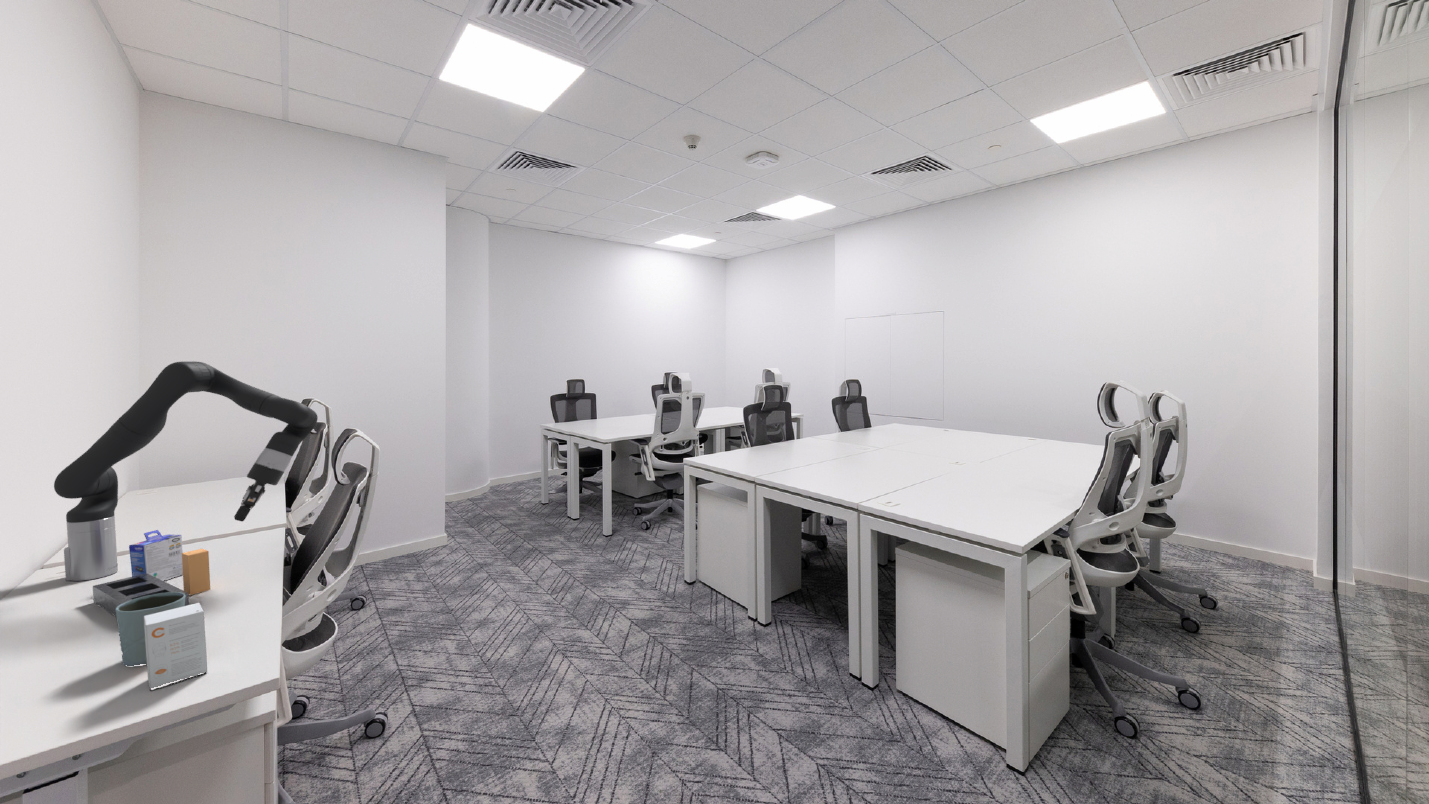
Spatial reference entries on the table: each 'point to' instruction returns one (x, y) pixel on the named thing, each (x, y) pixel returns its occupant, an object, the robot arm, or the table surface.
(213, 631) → the table surface
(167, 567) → the ink cartridge box
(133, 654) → the grey-green hollow cylinder
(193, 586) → the square peg
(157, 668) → the small box
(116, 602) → the gray slotted block
